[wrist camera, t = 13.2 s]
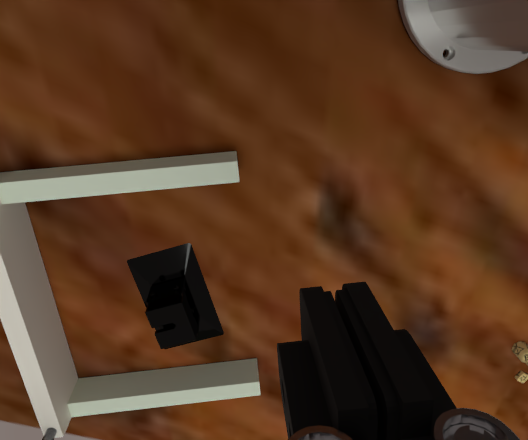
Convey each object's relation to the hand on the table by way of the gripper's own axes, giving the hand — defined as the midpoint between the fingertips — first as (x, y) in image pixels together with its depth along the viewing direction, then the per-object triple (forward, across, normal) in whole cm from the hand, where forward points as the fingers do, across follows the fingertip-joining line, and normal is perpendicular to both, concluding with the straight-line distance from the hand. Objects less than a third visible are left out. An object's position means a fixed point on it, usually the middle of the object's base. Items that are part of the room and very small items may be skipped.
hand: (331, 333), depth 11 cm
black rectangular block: (+24, +8, +13) cm, 28 cm away
